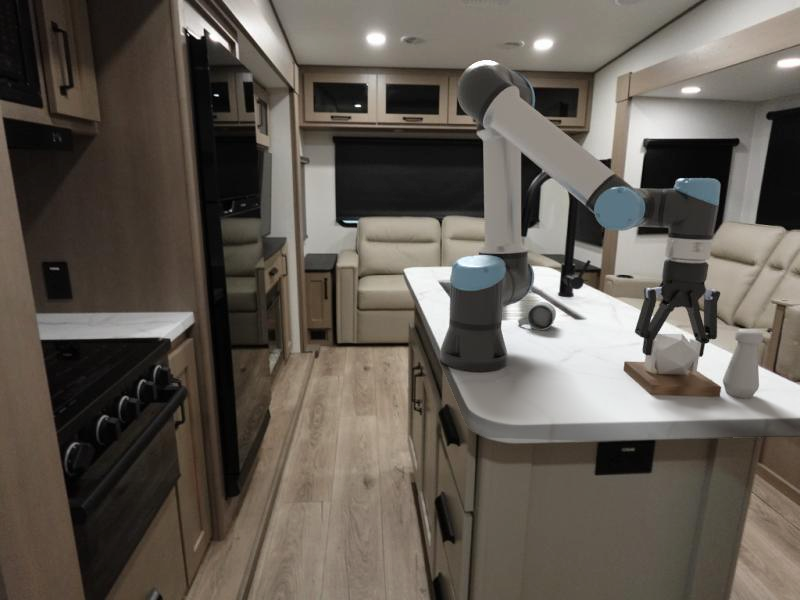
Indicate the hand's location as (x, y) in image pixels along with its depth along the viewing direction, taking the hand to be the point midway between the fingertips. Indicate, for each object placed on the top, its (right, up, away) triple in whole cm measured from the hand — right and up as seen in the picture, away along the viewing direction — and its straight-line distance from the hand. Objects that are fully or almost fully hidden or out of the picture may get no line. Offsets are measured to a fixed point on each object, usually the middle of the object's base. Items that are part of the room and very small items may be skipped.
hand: (669, 370), depth 99 cm
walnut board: (0, -3, +1) cm, 3 cm away
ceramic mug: (-16, +6, +40) cm, 44 cm away
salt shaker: (+11, -4, -5) cm, 12 cm away
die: (0, -1, 0) cm, 1 cm away
